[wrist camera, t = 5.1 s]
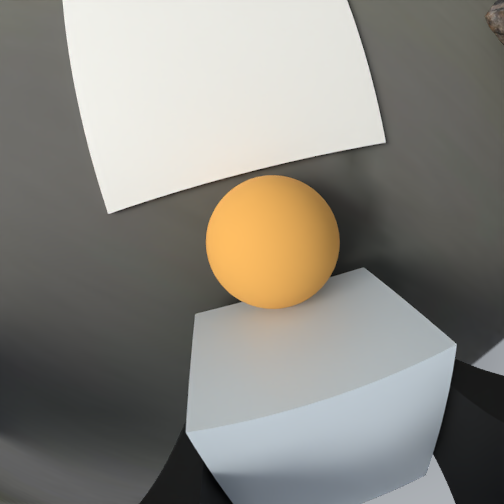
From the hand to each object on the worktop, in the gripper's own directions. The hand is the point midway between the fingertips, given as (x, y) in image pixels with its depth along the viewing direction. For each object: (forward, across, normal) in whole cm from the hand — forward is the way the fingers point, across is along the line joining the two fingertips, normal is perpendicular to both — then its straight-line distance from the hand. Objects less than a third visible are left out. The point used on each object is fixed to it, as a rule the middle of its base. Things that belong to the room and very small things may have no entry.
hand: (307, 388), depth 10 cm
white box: (+2, 0, 0) cm, 2 cm away
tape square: (+3, 0, -12) cm, 12 cm away
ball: (+1, 0, -5) cm, 5 cm away
